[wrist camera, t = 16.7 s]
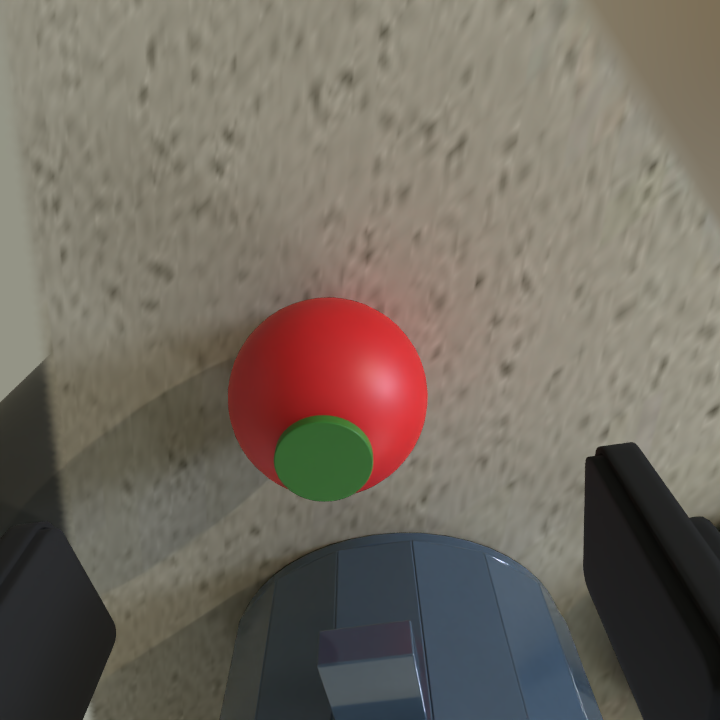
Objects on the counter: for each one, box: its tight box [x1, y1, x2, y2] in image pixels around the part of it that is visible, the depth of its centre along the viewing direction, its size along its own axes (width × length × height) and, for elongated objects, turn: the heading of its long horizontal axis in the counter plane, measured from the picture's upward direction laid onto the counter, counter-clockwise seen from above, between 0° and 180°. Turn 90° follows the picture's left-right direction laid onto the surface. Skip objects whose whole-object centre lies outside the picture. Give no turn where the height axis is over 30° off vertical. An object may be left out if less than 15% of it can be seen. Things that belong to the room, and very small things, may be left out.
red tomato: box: [228, 297, 427, 501], centre depth 15 cm, size 5×5×6 cm
